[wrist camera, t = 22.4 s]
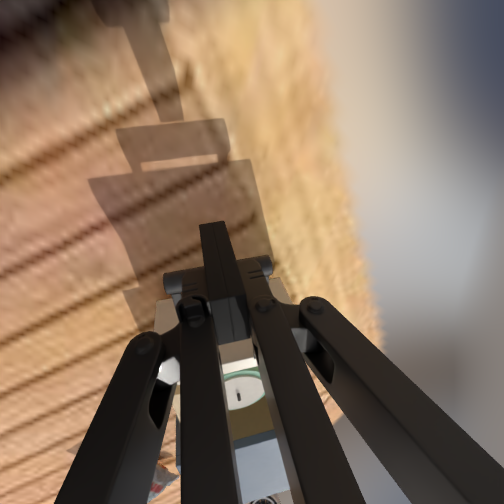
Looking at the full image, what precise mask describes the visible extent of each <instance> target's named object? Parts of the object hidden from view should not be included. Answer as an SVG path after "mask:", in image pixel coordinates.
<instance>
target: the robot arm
mask: <svg viewBox="0 0 504 504" xmlns="http://www.w3.org/2000/svg"><path fill="white" fill-rule="evenodd" d="M199 230H200V237H201V245H202V253H203V260H204V268H202V269H197V270H191V271H186V272H185V274H184V275H183V277H182V299H180V300H179V301H178V303H177V304H176V307H175V310H176V314H177V317H178V320H179V323H178V324H177V325H176V326H175V327H174V328H173V329H171V330H169V331H167V332H165V333H163V334H161V335H160V334H158V333H157V332H152V331H148V332H143V333H141V334H139V335H137V336H135V337H134V338H133V339H132V340H131V341H130V342H129V344H128V345H127V347H126V349H125V351H124V353H123V356H122V358H121V360H120V362H119V364H118V366H117V369H116V371H115V373H114V375H113V377H112V379H111V381H110V384H109V386H108V388H107V390H106V392H105V394H104V396H103V399H102V401H101V403H100V405H99V407H98V409H97V412H96V414H95V416H94V418H93V420H92V422H91V424H90V427H89V429H88V431H87V433H86V435H85V437H84V439H83V442H82V444H81V446H80V448H79V450H78V452H77V455H76V457H75V459H74V461H73V463H72V465H71V467H70V470H69V472H68V474H67V476H66V478H65V480H64V482H63V485H62V487H61V489H60V491H59V493H58V495H57V498H56V500H55V502H54V504H147V501H148V497H149V493H150V489H151V485H152V481H153V477H154V473H155V469H156V465H157V461H158V457H159V453H160V450H161V446H162V442H163V438H164V434H165V430H166V426H167V422H168V418H169V414H170V410H171V406H172V402H173V398H174V394H175V390H176V386H177V382H178V381H180V457H181V504H243V502H242V495H241V489H240V482H239V475H238V469H237V462H236V455H235V449H234V442H233V435H232V429H231V422H230V415H229V409H228V402H227V395H226V389H225V382H224V375H223V369H222V362H221V356H220V351H219V345H223V344H228V343H232V342H236V341H241V340H245V339H250V338H252V343H253V353H254V359H256V362H257V366H258V369H259V373H260V377H261V381H262V385H263V388H264V392H265V396H266V400H267V404H268V407H269V411H270V415H271V419H272V423H273V426H274V430H275V434H276V438H277V442H278V445H279V449H280V453H281V457H282V461H283V464H284V468H285V472H286V476H287V480H288V483H289V487H290V491H291V495H292V499H293V502H294V504H366V502H365V500H364V498H363V496H362V493H361V491H360V489H359V486H358V484H357V482H356V479H355V477H354V475H353V473H352V470H351V468H350V466H349V463H348V461H347V458H346V456H345V454H344V451H343V449H342V447H341V444H340V443H339V440H338V437H337V435H336V433H335V430H334V428H333V426H332V423H331V421H330V419H329V416H328V414H327V412H326V410H325V407H324V405H323V403H322V400H321V398H320V396H319V393H318V391H317V389H316V386H315V384H314V382H313V379H312V377H311V375H310V372H309V370H308V368H307V365H306V363H307V364H308V366H309V367H310V368H311V370H312V371H313V372H314V374H315V375H316V376H317V378H318V379H319V380H320V382H321V383H322V384H323V386H324V387H325V388H326V390H327V391H328V392H329V394H330V395H331V396H332V398H333V399H334V400H335V402H336V403H337V404H338V406H339V407H340V408H341V410H342V411H343V412H344V414H345V415H346V416H347V418H348V419H349V420H350V422H351V423H352V424H353V426H354V427H355V428H356V430H357V431H358V432H359V434H360V435H361V436H362V438H363V439H364V440H365V442H366V443H367V445H368V446H369V447H370V448H371V450H372V451H373V453H374V454H375V455H376V456H377V458H378V459H379V460H380V462H381V463H382V464H383V466H384V467H385V469H386V470H387V471H388V472H389V474H390V475H391V477H392V478H393V479H394V480H395V482H396V483H397V485H398V486H399V487H400V488H401V490H402V491H403V493H404V494H405V495H406V497H407V498H408V499H409V500H410V502H411V503H412V504H504V468H503V467H502V466H501V465H500V464H499V463H497V461H495V460H494V459H493V458H492V457H491V456H490V455H489V454H488V453H487V452H486V451H485V450H484V449H483V448H482V447H481V446H480V445H479V444H478V443H477V442H475V441H474V440H473V439H472V438H471V437H470V436H469V435H468V434H467V433H466V432H465V431H464V430H463V429H462V428H461V427H460V426H459V425H458V424H457V423H455V422H454V421H453V420H452V419H451V418H450V417H449V416H448V415H447V414H446V413H445V412H444V411H443V410H442V409H441V408H440V407H439V406H438V405H437V404H435V403H434V402H433V401H432V400H431V399H430V398H429V397H428V396H427V395H426V394H425V393H424V392H423V391H422V390H420V388H419V387H418V386H416V384H414V383H413V382H412V381H411V380H410V379H409V378H408V377H407V376H406V375H405V374H404V373H403V372H402V371H401V370H400V369H399V368H398V367H397V366H395V365H394V364H393V363H392V362H391V361H390V360H389V359H388V358H387V357H386V356H385V355H384V354H383V353H382V352H381V351H380V350H379V349H378V348H377V347H376V346H375V345H373V344H372V343H371V342H370V341H369V340H368V339H367V338H366V337H365V336H364V335H363V334H362V333H361V332H360V331H359V330H358V329H357V328H356V327H355V326H353V325H352V324H351V323H350V322H349V321H348V320H347V319H346V318H345V317H344V316H343V315H342V314H341V313H340V312H339V311H338V310H337V309H336V308H335V307H333V306H332V305H331V304H330V303H329V302H328V301H327V300H325V299H324V298H321V297H316V296H311V297H307V298H305V299H303V300H302V301H301V302H300V304H299V305H292V304H285V303H282V302H280V301H278V300H277V298H275V297H274V296H273V294H272V292H271V289H270V287H269V285H268V282H267V280H266V278H265V276H264V273H263V271H262V268H261V266H260V263H258V262H257V261H256V260H255V259H248V260H242V261H237V262H236V258H235V255H234V252H233V248H232V245H231V242H230V238H229V235H228V232H227V228H226V225H225V222H224V221H219V222H213V223H207V224H201V225H199ZM304 360H305V361H304ZM305 362H306V363H305Z"/></svg>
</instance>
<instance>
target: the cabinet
mask: <svg viewBox="0 0 504 504" xmlns="http://www.w3.org/2000/svg"><path fill="white" fill-rule="evenodd" d="M233 442H234V449H235V455H236V462H237V469H238V475H239V482H240V489H241V495H242V502H243V504H245V503H248V502H251V501H254V500H257V499H261V498H264V497H267V496H270V495H273V494H276V493H280V492H283V491H286V490H289V489H290V487H289V483H288V480H287V476H286V472H285V468H284V464H283V461H282V457H281V453H280V449H279V445H278V442H277V438H276V434H275V430H274V429H273V430H270V431H266V432H262V433H259V434H255V435H252V436H248V437H244V438H241V439H237V440H234V441H233ZM176 467H177V469H178V471H179V473H180V475H181V457H180V422H179V419H178V417H177V415H176Z"/></svg>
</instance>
